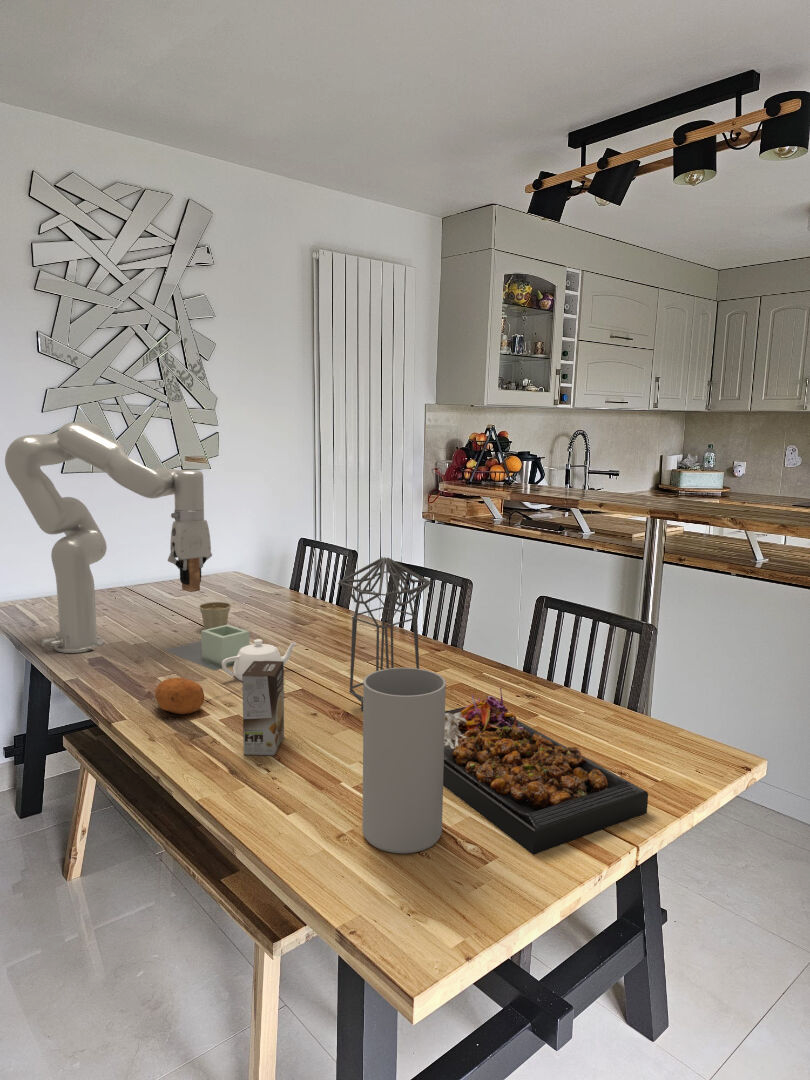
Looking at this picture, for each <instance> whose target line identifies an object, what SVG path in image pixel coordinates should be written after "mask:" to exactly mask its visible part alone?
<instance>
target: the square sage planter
mask: <svg viewBox="0 0 810 1080" xmlns="http://www.w3.org/2000/svg"><path fill="white" fill-rule="evenodd" d="M200 632H201V637H200V638H201V640H200V641H201V642H202V659H203V660H205V661H208V662H210V663H213V664H215V665H218V666H220V667H222V661H223V660H224V659H226V658H229V657H234V656H237V654H238V652H239V651H240V649H241V648H242V647H244V646H247V645H251V643H250V641H251V639H250V631H249V630H247V629H244V628H243V629H242V628H240V627H237V626H234V625H231V624H227V625H224V626H219V627H215V628H211V629H206V630H204V629H202V630H200ZM234 663H235V661H230V662H227V663H226V667H227V666H229V667H231V666H230V665H232V666H234ZM227 668H228V667H227Z"/></svg>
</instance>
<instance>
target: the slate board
mask: <svg viewBox="0 0 810 1080" xmlns="http://www.w3.org/2000/svg"><path fill="white" fill-rule="evenodd" d="M163 651H164V652H167V653H170V654H171V655H175V656H177V657H179V658H182V659H185V660H187V661H190V662H192V663H195V664H197V665H200V666H201V667H204V668H206V669H210V670H212V671H214V672H215V671H218V670H223V668H222V667H220V666H218V665H215V664H213V663H210V662H208V661H205V660H203V659H202V642H201V640H199V641H196V642H195V641H194V642H190V643H186V644H182V645H177V646H174V647H171V648H169V647H168V648H166V649H163ZM229 667H233V665H230V666H227V668H229Z"/></svg>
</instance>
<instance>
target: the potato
mask: <svg viewBox="0 0 810 1080" xmlns="http://www.w3.org/2000/svg"><path fill="white" fill-rule="evenodd" d="M154 696H155V697H154V698H155V700H156V702H157V704H158V706H159V707H160V709H161V710H163V711H167V712H170V713H173V714H178V715H186V714H192V713H194V712H197V711H198V710H200V709H201V707H202V706H203V704H204V703H205V693H204V690H203V688H202V686H201V685H200V684H199V683H197V682H196V681H194V680H191V679H187V678H184V677H173V678H172V677H170V678H167V679H164V680H162V681H161V682H160V683H159V684H157V686H156V687H155V689H154Z"/></svg>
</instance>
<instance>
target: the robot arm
mask: <svg viewBox="0 0 810 1080" xmlns="http://www.w3.org/2000/svg"><path fill="white" fill-rule="evenodd" d="M75 459H76V460H77V459H78V460H80V461H83V462H85V463H87V464H89V465H91V466H93V467H94V468H97V469H99V470H100V471H103V472H104V473H106V474H107V475H108V476H109V477H110V478H111V479H112V480H113V481H114V482H115V483H116V484H118V485H120V486H121V487H123V488H125V489H127V490H130V491H131V492H133V493H134V494H137V495H140V496H141V497H144V498H146V499H147V498H148V499H159V498H161V497H167V496H171V495H173V496H174V509H173V510H174V512H172V513H171V514H170V517H171V519H174V521H173V522H172V525H171V532H170V547H169V549H170V553H169V555H168V558H167V562H169V563H170V564H172V565H174V566H176V567H177V569H178V570H179V581H180V583H181V585H182V584H186V585H188V584H189V570H187V562H188V559H194V558H199V563H200V583H201V582H202V581H201V580H202V568H204V564H205V563H206V561H207V560H209V559H211V557H212V556H213V554H212V552H211V551H212V546H211V544H212V543H211V535H210V527H209V523H208V521H207V519H205V501H204V498H205V496H204V490H205V489H204V486H205V485H204V474H203V471H200V470H197V469H174V468H169V467H160V468H159V467H158V468H152V469H151V468H149V467H147V466H145V465H143V464H141V463H139V462H137V461H136V460H134V459H132V458H131V457H129V456H128V455H127V454H126V453H125V448H124V445H122V444H121V443H119V442H118V441H115V440H113V439H111V438H109V437H107V436H105V434H104V432H103V430H102V429H101V428H100V427H99V426H98V425H97V424H93V423H91V422H82V421H81V422H80V421H78V422H68V423H65V424H64V425H62V426H61V427H60V428H59V429H58V430H57V432H54V433H53V432H52V433H49V434H48V433H47V434H27V435H23V436H19V437H18V438H16V439H14V440H13V441H12V442H11V443H10V444H9V446H8V447H7V450H6V452H5V456H4V466H5V470H6V472H7V475H8V477H9V479H10V480H11V482H12V483H13V485H14V486H15V487H16V489H17V491H18V492H19V494H20V495H21V497H22V499H23V501H24V503H25V505H26V506H27V508H28V510H29V512H30V513H31V515H32V517H33V519H34V520H35V522H36V524H37V526H39V527H38V528H40V530H41V531H42V532H44V533H45V534H46V535H47V534H48V535H53V536H54V535H58V534H59V535H60V534H64V535H65V536H63V537H61V538H60V539H59V540H57V541H56V542H55V543H54V544H53V547H52V548H51V549H52V550H51V556H50V558H51V562H52V563H51V564H52V567H53V570H54V574H55V581H56V583H55V584H56V595H57V610H58V613H57V614H58V627H59V631H57V632H56V631H55V635H53V636H52V637H47V638H43V639H41V645H42V647H47V646H51V647H54V650H55V651H56V652H60V653H64V654H78V653H86V652H90V651H93V648H96V647H100V646H103V645H104V639H102V638H101V637H99V636H98V630H97V626H98V625H97V624H98V623H97V609H96V591H95V588H96V587H95V580H94V576H93V574H92V573H93V572H92V571H91V567H90V565H92V564H95V563H97V562H99V561H100V560H102V559H103V558H105V556H106V552H107V541H106V538H105V537H104V535H103V532H102V531H101V530H100V528H99V526H98V524H97V523H96V521H95V519H94V517H93V516H92V514H91V512H90V510H89V509H88V507H87V506H86V505H85V504H84V502H83V501H81V500H80V499H78V498H76V497H72V496H64V497H62V496H61V495H60V492H59V491H58V490H57V488H56V486H55V484H54V483H53V481H52V479H50V477H49V476H47V474H46V473H44V472H43V470H42V469H41V467H43V466H44V467H46V466H53V465H58V464H62V463H65V462H68V461H72V460H75ZM176 558H177V559H176Z"/></svg>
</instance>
